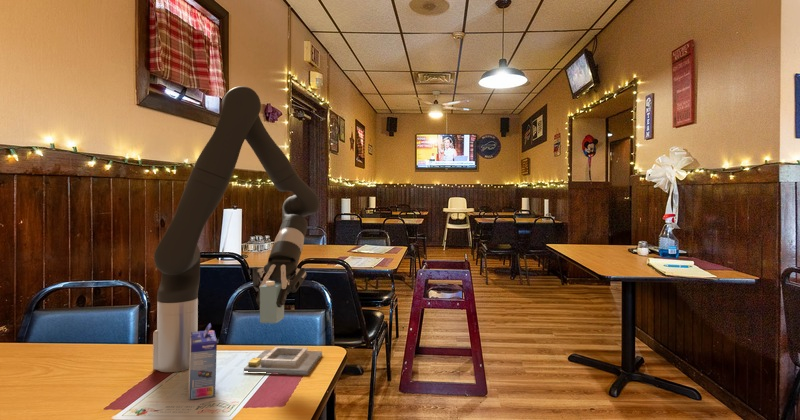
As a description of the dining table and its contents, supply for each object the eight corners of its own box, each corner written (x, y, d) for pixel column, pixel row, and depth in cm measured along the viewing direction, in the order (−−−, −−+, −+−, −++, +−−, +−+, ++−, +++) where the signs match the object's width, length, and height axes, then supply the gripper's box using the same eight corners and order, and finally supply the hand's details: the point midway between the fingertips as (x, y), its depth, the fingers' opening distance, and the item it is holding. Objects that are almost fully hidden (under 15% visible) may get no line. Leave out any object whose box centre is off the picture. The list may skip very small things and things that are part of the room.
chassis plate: (243, 373, 103) (243, 362, 103) (266, 353, 117) (266, 344, 117) (307, 375, 102) (307, 364, 102) (322, 355, 116) (322, 345, 116)
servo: (259, 322, 98) (259, 282, 98) (268, 317, 103) (268, 278, 103) (276, 323, 97) (276, 282, 97) (284, 317, 102) (284, 279, 102)
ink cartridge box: (217, 396, 90) (217, 329, 90) (188, 401, 88) (189, 333, 88) (214, 379, 99) (214, 319, 99) (188, 384, 96) (188, 321, 96)
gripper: (257, 239, 108) (234, 295, 96) (310, 239, 107) (294, 297, 95) (265, 257, 113) (245, 313, 101) (316, 258, 112) (302, 314, 100)
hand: (269, 305), depth 98 cm, fingers closed on servo, 4 cm apart
